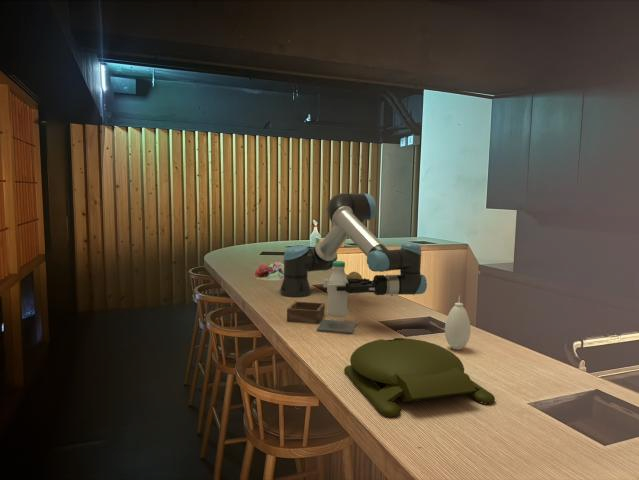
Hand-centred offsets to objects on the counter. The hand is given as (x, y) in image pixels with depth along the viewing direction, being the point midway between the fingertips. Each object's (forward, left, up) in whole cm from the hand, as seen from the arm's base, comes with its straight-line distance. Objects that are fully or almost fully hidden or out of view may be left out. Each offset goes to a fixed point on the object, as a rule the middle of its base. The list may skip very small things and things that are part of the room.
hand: (325, 285), depth 169 cm
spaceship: (+41, +31, -17) cm, 55 cm away
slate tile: (-2, +4, -16) cm, 17 cm away
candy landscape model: (-92, -48, -17) cm, 105 cm away
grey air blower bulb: (+11, +46, -16) cm, 50 cm away
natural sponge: (-66, +2, -16) cm, 68 cm away
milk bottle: (-2, +5, -11) cm, 12 cm away
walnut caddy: (-11, -10, -16) cm, 22 cm away
